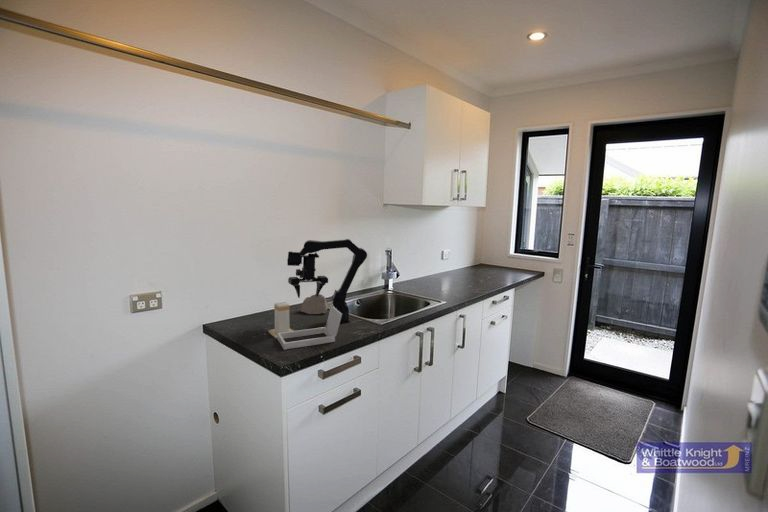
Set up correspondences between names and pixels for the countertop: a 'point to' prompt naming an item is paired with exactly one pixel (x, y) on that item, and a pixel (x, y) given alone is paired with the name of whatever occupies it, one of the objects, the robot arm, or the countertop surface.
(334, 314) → the grey angled frame
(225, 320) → the countertop surface
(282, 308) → the module
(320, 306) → the pumice stone
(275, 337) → the pad
